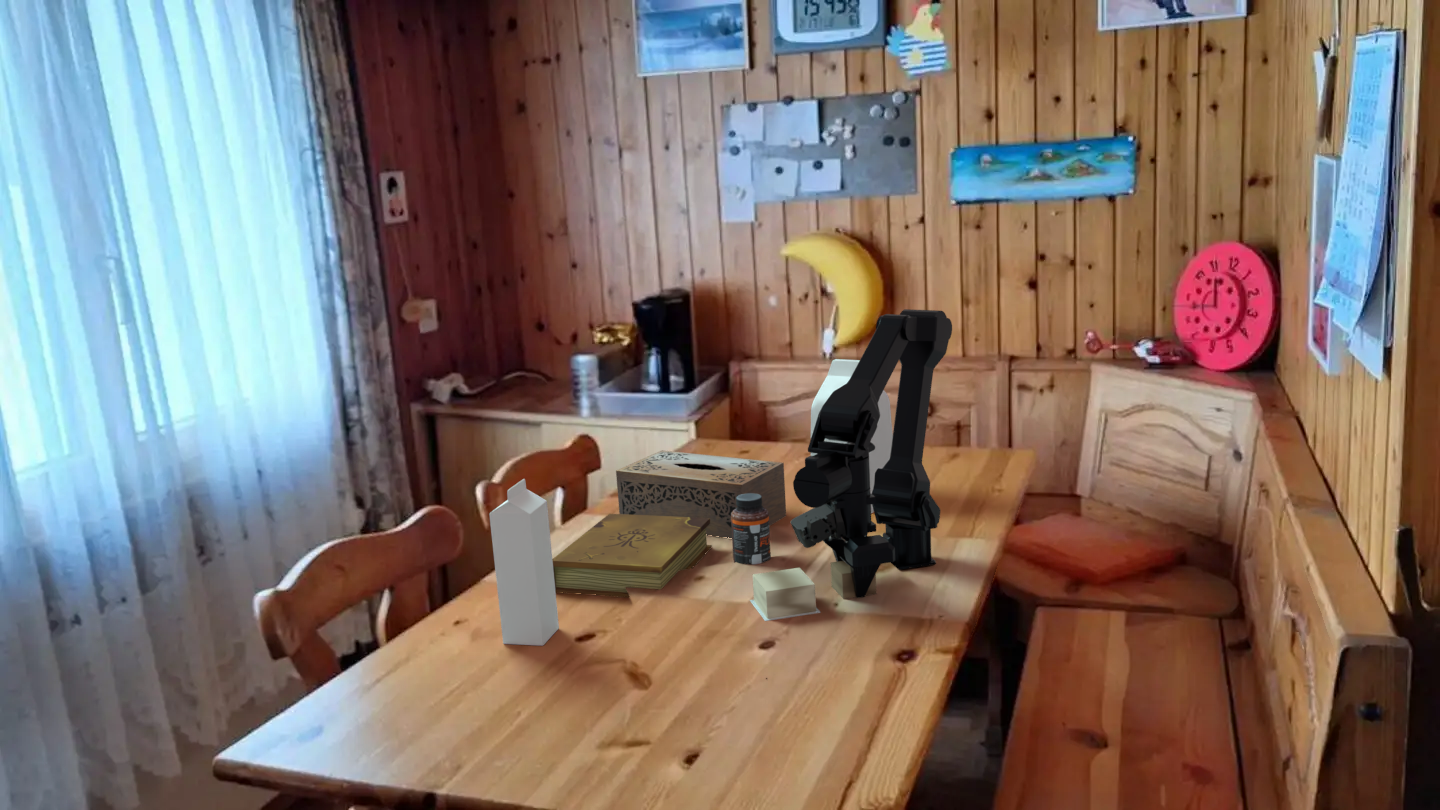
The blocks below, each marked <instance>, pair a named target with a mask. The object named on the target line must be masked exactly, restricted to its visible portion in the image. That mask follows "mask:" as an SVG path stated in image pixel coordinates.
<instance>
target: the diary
mask: <svg viewBox="0 0 1440 810" xmlns="http://www.w3.org/2000/svg"><path fill="white" fill-rule="evenodd" d="M709 524H710V518H696V517H673V516H651V515H629V514H619V513H608V514H607V515H606V516H604V517H603V518H602V519H601V520H599V521H598V522H597V523H595V524H594V525H593V526H592V527H591V528H590V529H588V530H587V531H586V532H585V533H583V534H581V536H579V537H578V538H577V539H576V540H575V541H573V542H572V543H571V544H570V545H568V546H567V547H566V548H564V549H563V550H562V551H561V552H560V553H558V554H557V555H556V556H554V557H552V560H553V571H554V581H555V592H563V593H562V594H568V593H581V594H580V595H583V594H596V595H595V596H598V595H605V596H604V597H614V596H615V597H617V596H618V597H619V598H629V597H630V594H629V592H628V590H627V588H636V589H650V590H662V589H663V588H664V587H665V586H666V585H667V584H668V582H670V581H671V580H672V579H673V577H675V576H676V574H677V573H679V571H685V570H692V569H694V567H695V566H696V565H697V564H698V563H699V562H700V561H701V560H702V559H703V558H704V557H705V555H706V554H707V553H708V552H709V551H710V550H711V549H712V548H711V547H713V546H712V544H708V541H707V536H706V527H707V526H708V525H709ZM710 548H711V549H710ZM709 549H710V550H709ZM708 550H709V551H708ZM707 551H708V552H707ZM706 552H707V553H706ZM705 553H706V554H705ZM702 557H703V558H702ZM701 558H702V559H701ZM700 559H701V560H700ZM699 560H700V561H699ZM698 561H699V562H698ZM697 562H698V563H697ZM696 563H697V564H696ZM693 566H694V567H693ZM615 597H614V598H615ZM618 597H617V598H618ZM630 598H631V597H630Z"/></svg>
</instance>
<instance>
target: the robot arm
mask: <svg viewBox="0 0 1440 810" xmlns="http://www.w3.org/2000/svg"><path fill="white" fill-rule="evenodd" d="M875 324H876V325H875V331H874V334H872V337H871V339H870V340H869V342H868V344H867V347H866V348H865V350H864V352H863V354H862V356H861V357H860V358H859V359H860V361H859V363H858V365H857V367H856V368H855V370H854V372H853V374H852V376H851V378H850V380H849V381H848V382H847V384H845V385H843V386H842V387H840V388H838V389H837V390H835V391H834V392H833V393H832V394H831V395H830V397H829V398H828V399H827V401H826V402H825V403H824V405H823V406H822V408H821V410H820V412H819V414H818V418H817V421H816V424H815V427H814V431H813V434H812V437H811V436H810V441H809V443H808V447H807V452H808V453H810V454H811V453H817V454H816V455H814V456H811V455H809V456H806V457H805V458H804V466H803V467H801V468H799V470H798V471H797V472H796V473H795V475H794V479H793V482H792V486H793V491H794V495H795V496H796V498H797V499H798V501H800V503H802V504H803V505H804V506H807V507H808V508H811V509H810V510H806V511H805V512H803V513H802V514H799V515H797V516H796V517H794V518H792V519H791V520H790V522H789V523H790V524H791V527H792V529H793V532H794V534H795V536H796V538H797V541H798V542H799V543H800V544H801V545H802V546H803V547H804V548H805V549H810V548H812V547H815V546H816V545H817V544H819V543H821V542H823V543H825V545H826V546H828V547H829V548H830V549H832V553H833V556H834V558H835V562H838V561H844V562H846V563H847V564H848V565H849V566H850V569H851V574H852V580H853V585H854V590H855V594H856V597H855V598H856V599H858V598H859V599H860V598H865V597H866V596H867V595H866V593H867V591H868V589H869V586H870V584H871V582H872V580H873V578H874V576H875V574H876V575H877V572H878V570H879V568H880V566H881V565H883V564H891V565H893V567H895V568H896V569H897V570H899V571H900V570H907V569H914V568H920V567H927V566H934V565H936V563H937V562H936V561H937V560H936V559H934V558H933V557H932V535H931V534H932V530H933V529H937V528H938V524H939V523H940V518H941V508H940V506H939V505H938V504H937V502H936V501H935V500H934V498H933V497H932V495H931V494H930V493H931V491H930V490H931V481H930V479H929V476H928V474H927V472H926V469H925V467H924V465H923V458H924V448H925V443H926V442H925V441H926V432H927V424H928V417H929V409H930V400H931V391H932V385H933V384H932V383H933V375H934V370H935V368H936V367H937V366H938V364H939V363H940V362H941V361H942V360H943V358H944V356H945V355H946V354H947V351H948V345H949V340H950V339H951V336H952V333H953V324H952V320H951V319H950V318H948V317H947V314H946V313H945V312H944V311H943V310H938V309H937V310H935V309H934V310H933V309H931V310H930V309H903V310H901V312H900V313H899V314H894V313H893V314H892V313H891V314H890V313H886V314H883V315H880V316H879V317H878V318H877V321H876V322H875ZM899 362H900V366H901V367H900V375H899V384H898V392H897V399H896V408H895V415H894V423H893V424H894V425H893V429H892V433H893V438H892V446H891V454H890V459H889V460H888V462H887V463H886V464H885V466H884V467H883V468H882V469H881V468H878V469H877V471H876V472H875V481H874V488H873V491H872V494H871V493H870V469H869V452H871V451H873V450H875V445H873V443H871V442H870V441H871V439H872V437H873V435H874V433H875V431H876V428H877V423H878V421H879V418H880V412H879V407H878V401H879V398H880V396H881V394H882V392H883V390H884V391H885V388H886V386H887V384H888V382H889V381H890V378H891V376H892V374H893V372H894V370H895V368H896V366H897V365H898V363H899ZM825 438H826V439H828V440H834V441H843V442H847V443H846V444H844V443H836V442H827V441H824V440H825ZM871 504H872V506H873V510H874V512H873V513H874V517H875V521H876V523H875V522H873V520H872V513H871ZM877 524H879V525H882V524H883V525H885V532H883V533H882V535H880V534H875V535H868V533H874V532H877Z"/></svg>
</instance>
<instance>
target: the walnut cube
mask: <svg viewBox="0 0 1440 810" xmlns="http://www.w3.org/2000/svg"><path fill="white" fill-rule="evenodd" d="M876 575H877V573H876V574H875V576H874V578H873V580H872V582H871V584H870V586H869V589H868V591H867V593H866V595H865V596H871V595H877V576H876ZM830 579H831V588H832V589H833V590H834V591H835V592H836V594H838V595H839V596H840V597H841V599H843V600H845V599H851V598H857V597H856V594H855V590H854V585H853V580H852V574H851V569H850V566H849V565H848V564H847V563H846V562H844V561H838V562H836V561H832V562H830Z"/></svg>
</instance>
